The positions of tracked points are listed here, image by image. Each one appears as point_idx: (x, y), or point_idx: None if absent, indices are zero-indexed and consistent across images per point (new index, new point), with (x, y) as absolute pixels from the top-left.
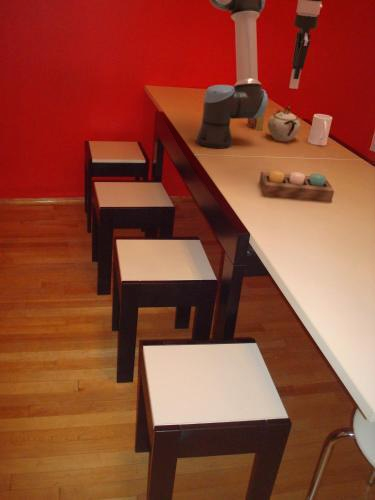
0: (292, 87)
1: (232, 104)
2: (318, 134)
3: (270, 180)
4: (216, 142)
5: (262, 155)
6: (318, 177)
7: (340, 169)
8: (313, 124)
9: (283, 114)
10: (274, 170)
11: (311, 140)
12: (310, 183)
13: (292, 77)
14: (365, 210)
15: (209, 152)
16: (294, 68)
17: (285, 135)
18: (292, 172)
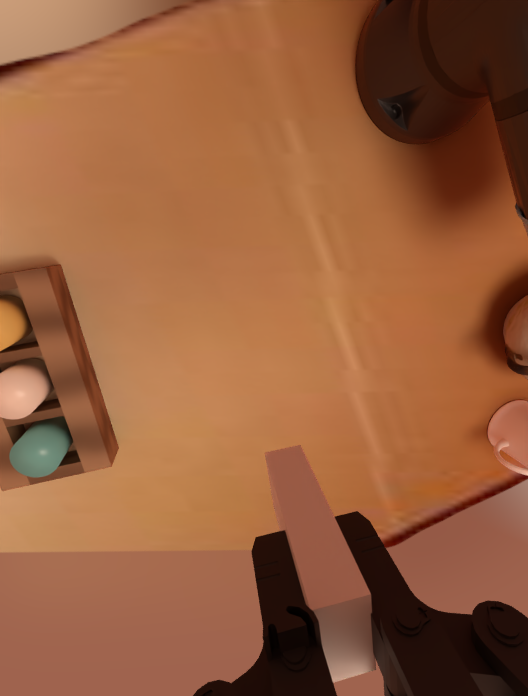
0: (269, 474)
1: (523, 48)
2: (516, 439)
3: None
4: (367, 69)
5: (340, 266)
6: (22, 458)
7: None
8: None
9: None
10: (3, 318)
11: (507, 412)
12: (31, 427)
13: (284, 524)
14: (9, 542)
15: (303, 54)
16: (268, 639)
17: (507, 337)
18: (22, 379)
